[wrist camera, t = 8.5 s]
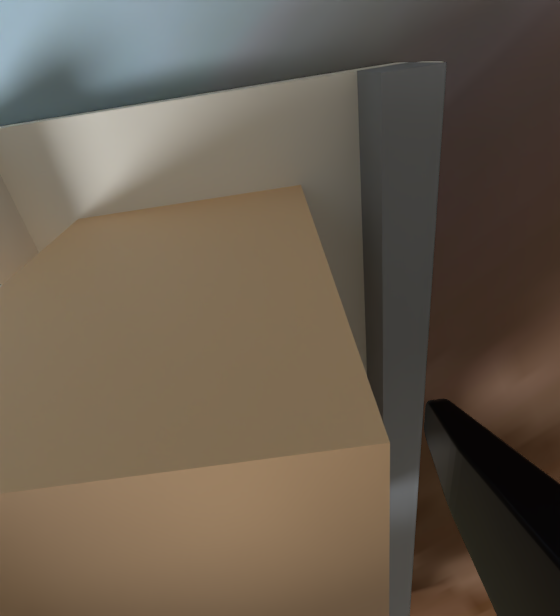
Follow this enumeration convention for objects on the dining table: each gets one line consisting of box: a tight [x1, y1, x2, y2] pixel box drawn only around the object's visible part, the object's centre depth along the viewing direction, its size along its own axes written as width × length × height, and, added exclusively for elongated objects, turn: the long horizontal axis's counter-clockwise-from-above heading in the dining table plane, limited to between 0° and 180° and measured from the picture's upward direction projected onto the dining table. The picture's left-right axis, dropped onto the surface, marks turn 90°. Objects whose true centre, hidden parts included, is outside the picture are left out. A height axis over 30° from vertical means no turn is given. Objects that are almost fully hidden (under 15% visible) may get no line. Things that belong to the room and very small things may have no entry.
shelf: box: [0, 61, 447, 616], centre depth 14 cm, size 24×20×3 cm
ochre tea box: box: [0, 185, 390, 616], centre depth 8 cm, size 9×5×7 cm, turn 8°
